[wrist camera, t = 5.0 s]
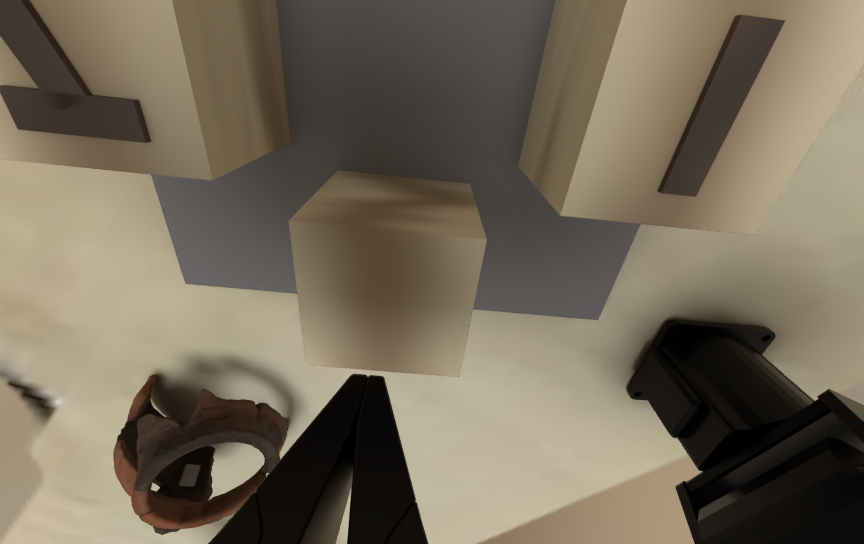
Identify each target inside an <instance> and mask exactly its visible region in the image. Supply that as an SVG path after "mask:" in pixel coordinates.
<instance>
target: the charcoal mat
mask: <svg viewBox="0 0 864 544" xmlns="http://www.w3.org/2000/svg"><path fill="white" fill-rule="evenodd" d="M554 4H555V0H276V5H277V14H278V24H279V34H280V43H281V53H282V63H283V72H284V82H285V92H286V101H287V111H288V121H289V130H290V140H291V142H290V143H288V144H286V145H284V146H282V147H280V148H278V149H276V150H274V151H272V152H270V153H268V154H266V155H264V156H262V157H260V158H258V159H255V160H253V161H251V162H249V163H247V164H245V165H243V166H241V167H239V168H237V169H235V170H233V171H231V172H229V173H227V174H225V175H223V176H221V177H219V178H217V179H215V180H213V181H212V180H202V179H192V178H183V177H173V176H163V175H153V174H151V176H152V179H153V182H154V185H155V188H156V191H157V195H158V198H159V201H160V204H161V207H162V211H163V214H164V217H165V220H166V223H167V226H168V230H169V233H170V236H171V239H172V242H173V245H174V249H175V252H176V255H177V258H178V261H179V265H180V268H181V271H182V274H183V277H184V280H185V284H194V285H206V286H217V287H228V288H240V289H251V290H262V291H274V292H285V293H296V294H297V287H296V279H295V270H294V262H293V253H292V245H291V237H290V228H289V220H290V219H291V218H292V217H293V216H294V215H295V214H296V213H297V212H298V211H299V210H300V209H301V208H302V206H303V205H304V204H305V203H306V202H307V201H308V200H309V199H310V198H311V197H312V196H313V195H314V194H315V193H316V192H317V191H318V190H319V189H320V188H321V187H322V186H323V185H324V184H325V183H326V182H327V181H328V180H329V179H330V178H331V177H332V176H333V175H334V174H335V173H336V172H337V171H338V170H340V171H350V172H359V173H369V174H379V175H388V176H398V177H407V178H417V179H427V180H436V181H446V182H456V183H465V184H470V186H471V189H472V192H473V195H474V199H475V202H476V205H477V209H478V212H479V215H480V219H481V222H482V225H483V229H484V232H485V235H486V239H487V242H486V247H485V252H484V257H483V262H482V267H481V272H480V277H479V282H478V287H477V292H476V297H475V302H474V306H473V309H478V310H489V311H501V312H512V313H524V314H535V315H546V316H558V317H569V318H580V319H592V320H598V319H599V316H600V314H601V312H602V310H603V307H604V305H605V303H606V301H607V298H608V296H609V294H610V292H611V289H612V287H613V285H614V282H615V280H616V278H617V276H618V273H619V271H620V269H621V267H622V264H623V262H624V260H625V257H626V255H627V253H628V251H629V248H630V246H631V244H632V242H633V239H634V237H635V235H636V233H637V230H638V228H639V226H640V224H638V223H628V222H618V221H608V220H598V219H589V218H579V217H569V216H560V215H559V214H558V212H557V211H556V210H555V209H554V208H553V207H552V205H551V204H550V203H549V202H548V201H547V200H546V198H545V197H544V196H543V195H542V194H541V193H540V191H539V190H538V189H537V188H536V187H535V186H534V184H533V183H532V182H531V181H530V180H529V179H528V177H527V176H526V175H525V174H524V173H523V172H522V171H521V169H520V168H519V167H518V164H519V160H520V155H521V151H522V147H523V142H524V138H525V133H526V129H527V124H528V120H529V115H530V111H531V107H532V102H533V98H534V93H535V89H536V84H537V80H538V75H539V71H540V67H541V62H542V58H543V53H544V49H545V44H546V40H547V36H548V31H549V27H550V22H551V18H552V13H553V9H554Z"/></svg>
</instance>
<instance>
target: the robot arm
mask: <svg viewBox="0 0 864 544" xmlns="http://www.w3.org/2000/svg"><path fill="white" fill-rule="evenodd" d="M673 328H674V329H673ZM774 338H775V333H774V332H773V331H771V330H770V329H769V328H766V327H756V326H745V325H733V324H722V323H711V322H700V321H689V320H677V319H674V320H670V321H668V322H666V323H665V324H664V326H663V327H662V329H661V331H660V333H659V334H658V336H657V338H656V340H655V341H654V343H653V345H652V347H651V348H650V350H649V352H648V354H647V355H646V357H645V359H644V361H643V362H642V364H641V366H640V368H639V369H638V371H637V373H636V375H635V376H634V378H633V380H632V382H631V383H630V385H629V387H628V389H627V393H628V394H629V396H630V398H632V399H637V400H648V401H649V403H650V404H651V406H652V407H653V409H654V411H655V412H656V414H657V415H658V417H659V418H660V420H661V421H662V423H663V425H664V426H665V428H666V429H667V431H668V432H669V434H670V435H671V436H672V437H673V438H678V440H679V441H680V443H681V444H682V446H683V447H684V449H685V450H686V452H687V453H688V455H689V456H690V458H691V459H692V461H693V462H694V464H695V465H696V467H697V468H698V470H700V471H703V472H701V473H700V474H698V475H697V476H695V477H694V478H692V479H691V480H689V481H687V482H685V481H683V482H681V483H680V484H678V485H677V486H676V490H677V493H678V496H679V499H680V502H681V505H682V508H683V511H684V514H685V517H686V520H687V522H688V525H689V528H690V531H691V534H692V537H693V540H694V543H695V544H864V405H862V404H860V403H858V402H856V401H853V400H851V399H849V398H847V397H845V396H843V395H841V394H839V393H837V392H834V391H832V390H830V389H828V390H827V391H825V392H824V393H822V394H820V395H819V396H817V397H818V398H819V399H818V400H816V401H814V400H813V399H812V398H811V397H810V396H808V395H807V394H806V393H805V392H804V391H803V390H802V389H800V388H799V387H798V386H797V385H796V384H795V383H793V382H792V381H791V380H790V379H789V378H788V377H787V376H785V375H784V374H783V373H782V372H781V371H780V370H779V369H777V368H776V367H775V366H774V365H773V364H772V363H771V362H769V361H768V360H767V359H766V358H765V357H764V356H762V354H763V352H764V351H765V350H766V349H767V347H768V346H769V345H770V344H771V342H772V341H773V340H774ZM351 486H352V490H351V503H350V515H349V528H348V541H347V544H428V541H427V537H426V534H425V531H424V527H423V524H422V520H421V517H420V513H419V509H418V505H417V503H416V502H415V501H416V498H415V494H414V490H413V486H412V483H411V479H410V475H409V471H408V467H407V463H406V460H405V456H404V452H403V448H402V444H401V440H400V437H399V433H398V429H397V425H396V421H395V417H394V413H393V410H392V406H391V402H390V398H389V394H388V390H387V387H386V383H385V379H384V377H383V376H375V375H370V376H369V377H368V376H367V375H362V374H353V375H351V376H350V377H349V378H348V379H347V381H346V382H345V383H344V384H343V385H342V387H341V388H340V389H339V390H338V391H337V393H336V394H335V395H334V396H333V397H332V399H331V400H330V401H329V402H328V403H327V405H326V406H325V407H324V408H323V409H322V411H321V412H320V413H319V414H318V415H317V417H316V418H315V419H314V420H313V421H312V423H311V424H310V425H309V426H308V427H307V429H306V430H305V431H304V432H303V433H302V435H301V436H300V437H299V438H298V439H297V441H296V442H295V443H294V444H293V445H292V447H291V448H290V449H289V450H288V451H287V453H286V454H285V455H284V456H283V457H282V459H281V460H280V461H279V462H278V463H277V464H276V466H275V467H274V468H273V469H272V470H271V472H270V473H269V474H268V475H267V476H266V478H265V479H264V480H263V481H262V482H261V484H260V485H259V486H258V487H257V488H256V493H255V492H254V493H252V494H251V495H250V497H249V498H248V499H247V500H246V501H245V503H244V504H243V505H242V506H241V507H240V509H239V510H238V511H237V512H236V513H235V514H234V516H233V517H232V518H231V519H230V520H229V521H228V522H227V524H226V525H225V526H224V527H223V528H222V529H221V530H220V532H219V533H218V534H217V535H216V536H215V537H214V538H213V539H212V540H211V541H210V542H209V543H208V544H335V543H336V540H337V536H338V533H339V529H340V525H341V522H342V518H343V514H344V511H345V507H346V504H347V500H348V496H349V493H350V489H351Z"/></svg>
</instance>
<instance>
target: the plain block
mask: <svg viewBox="0 0 864 544" xmlns="http://www.w3.org/2000/svg"><path fill="white" fill-rule="evenodd" d="M289 228H290V237H291V245H292V253H293V262H294V270H295V279H296V287H297V295H298V304H299V312H300V320H301V329H302V337H303V345H304V354H305V362H306V365H312V366H325V367H337V368H350V369H363V370H375V371H388V372H400V373H413V374H426V375H438V376H451V377H459V376H460V371H461V366H462V361H463V356H464V351H465V346H466V341H467V336H468V331H469V326H470V321H471V316H472V311H473V306H474V302H475V297H476V292H477V287H478V282H479V277H480V272H481V267H482V262H483V257H484V252H485V247H486V242H487V239H486V235H485V232H484V229H483V225H482V222H481V219H480V215H479V212H478V209H477V205H476V202H475V199H474V195H473V192H472V189H471V186H470V184H465V183H456V182H446V181H436V180H427V179H417V178H407V177H398V176H388V175H379V174H369V173H359V172H350V171H340V170H338V171H337V172H336V173H335V174H334V175H333V176H332V177H331V178H330V179H329V180H328V181H327V182H326V183H325V184H324V185H323V186H322V187H321V188H320V189H319V190H318V191H317V192H316V193H315V194H314V195H313V196H312V197H311V198H310V199H309V200H308V201H307V202H306V203H305V204H304V205H303V206H302V208H301V209H300V210H299V211H298V212H297V213H296V214H295V215H294V216H293V217H292V218H291V219H290V220H289Z"/></svg>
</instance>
